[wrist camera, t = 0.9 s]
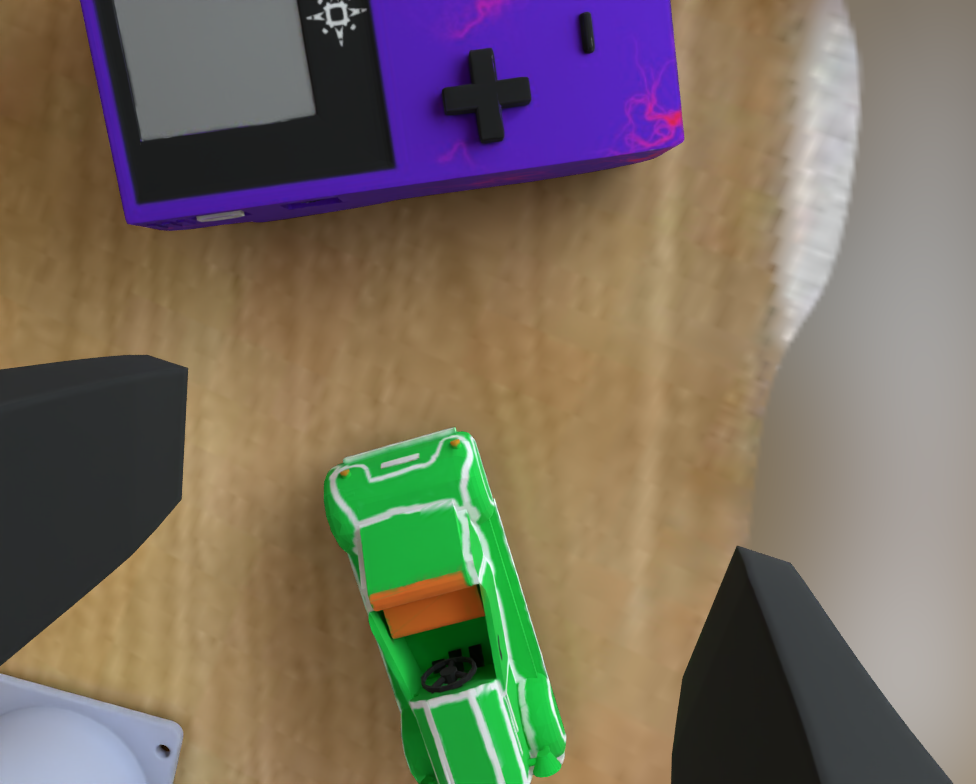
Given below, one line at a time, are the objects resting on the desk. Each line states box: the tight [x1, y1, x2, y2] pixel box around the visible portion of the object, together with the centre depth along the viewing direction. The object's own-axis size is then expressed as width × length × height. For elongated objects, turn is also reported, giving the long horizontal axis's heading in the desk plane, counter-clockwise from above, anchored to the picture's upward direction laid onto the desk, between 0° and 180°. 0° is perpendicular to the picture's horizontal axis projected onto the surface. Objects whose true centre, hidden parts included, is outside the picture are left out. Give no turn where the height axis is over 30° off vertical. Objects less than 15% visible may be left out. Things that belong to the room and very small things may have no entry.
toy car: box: [324, 427, 566, 784], centre depth 25 cm, size 12×5×4 cm, turn 16°
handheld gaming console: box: [80, 0, 684, 231], centre depth 22 cm, size 9×5×15 cm
